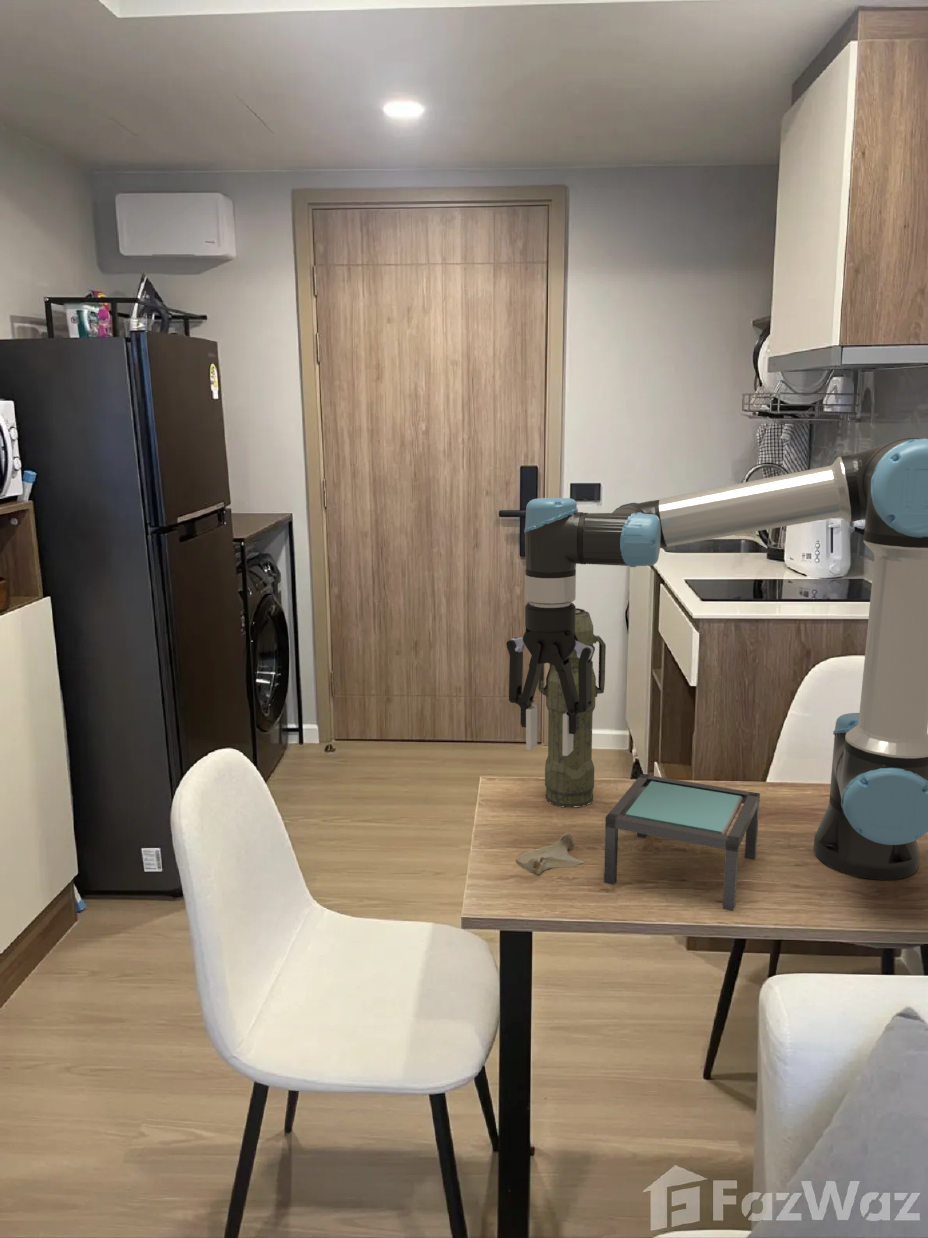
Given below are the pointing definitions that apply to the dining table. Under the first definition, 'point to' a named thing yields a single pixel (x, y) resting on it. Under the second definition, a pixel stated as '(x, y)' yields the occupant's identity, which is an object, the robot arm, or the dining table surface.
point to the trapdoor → (686, 807)
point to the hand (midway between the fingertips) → (549, 749)
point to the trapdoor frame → (686, 831)
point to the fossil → (550, 856)
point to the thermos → (575, 772)
